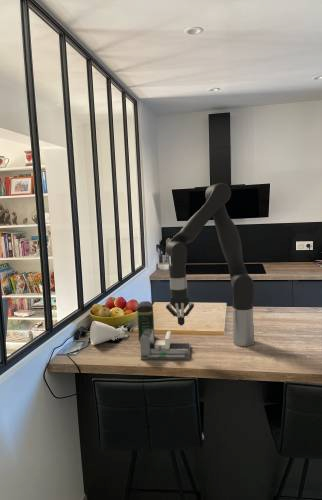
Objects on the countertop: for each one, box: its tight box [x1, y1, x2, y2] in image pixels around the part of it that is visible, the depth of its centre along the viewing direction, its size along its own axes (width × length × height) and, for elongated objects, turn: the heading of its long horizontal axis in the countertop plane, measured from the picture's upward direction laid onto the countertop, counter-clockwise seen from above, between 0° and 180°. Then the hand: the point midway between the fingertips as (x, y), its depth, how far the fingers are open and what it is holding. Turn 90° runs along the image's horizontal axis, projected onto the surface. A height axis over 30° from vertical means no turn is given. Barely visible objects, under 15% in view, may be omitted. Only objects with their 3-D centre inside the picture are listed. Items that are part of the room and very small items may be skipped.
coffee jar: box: [136, 301, 155, 341], centre depth 185 cm, size 10×8×19 cm
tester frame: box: [139, 329, 192, 361], centre depth 168 cm, size 21×14×9 cm, turn 82°
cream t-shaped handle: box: [154, 330, 172, 351], centre depth 167 cm, size 7×11×7 cm, turn 172°
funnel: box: [89, 320, 129, 346], centre depth 188 cm, size 12×12×18 cm
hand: (181, 324), depth 165 cm, fingers closed
